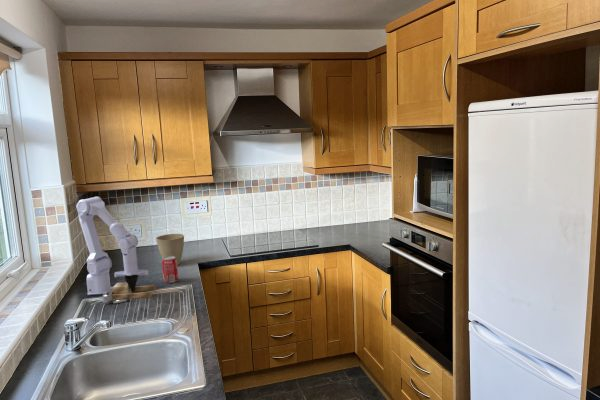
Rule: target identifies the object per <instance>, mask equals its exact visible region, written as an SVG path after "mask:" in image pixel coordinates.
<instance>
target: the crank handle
mask: <svg viewBox="0 0 600 400" xmlns="http://www.w3.org/2000/svg"><path fill="white" fill-rule="evenodd" d="M124 302H125V303H126V302H127V303H128V302H131V298H130V297H129V295H127V296H126V299H115V300H113V305H115V304H120V303H124Z"/></svg>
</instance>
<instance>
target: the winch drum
mask: <svg viewBox="0 0 600 400" xmlns="http://www.w3.org/2000/svg"><path fill="white" fill-rule="evenodd" d="M102 301H103V305H110V304H112V303H113V301H114V300H113V293H110V292H109V291H107V292H106V293H105V294H102Z"/></svg>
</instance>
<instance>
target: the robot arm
mask: <svg viewBox="0 0 600 400" xmlns="http://www.w3.org/2000/svg"><path fill="white" fill-rule="evenodd" d="M105 204H106V203H105V201H103V200H102V198H101V197H100V196H94V197H89V198H85V199H84V198H83V199H80V200H78V202H77V203H76V205H75V207H76V210H77V214H78V216H77V217H78V221H79V224H80V227H81V230H82V233H83V237H84V240H85V243H86V247H87V249H88V253H89V256H88V257H87V258H86V264H87V265H86V270H87V272H88V274H87V275H86V287H87V288H86V289H87V296H91V295H103V294H105V293H106V292H107V291H109V293H110V292H111V290H112V289H113V287H114V286H111V281H110V269H111V268H112V265H113V263H112V260H111V258H110V257H109V255H108V253H107V252H106V251H103V247H102V245H101V242H100V239H99V236H98V231H97V230H96V229H97V228H96V225H95V222H94V218H95V216H98V217H99V218H100V219H101V220H102V221H103V222H104V223H105V224H106V225H107V226H108V227H109V233H111V235H112V236H113V237H114V238H115V239H116V240H117V241H118V247H119V248H120V252H121V253H122V254H121V255H122V261H123V268H124V269H123V270H121V271H120V270H119V271H115V272H114V275H113V276H114V278H119V277H124V280H125V281H124V282H127V283H128V285H129V287H130V290H131V292H132V293H135V292H136V291H135V287H136V286H137V282H138V279H139V276H148V275H149V269H139V267H138V257H137V246H138V244H139V240H138V238H137V236H136V235H135V234H133V233H131V232H129V231H128V230H127V229H126V228H125V226H124V225H123V224H122V223H121V222H117V221H116V220H115V219H114V217H113V216H112V214H110V212H109V210H108V209H107V208H106V206H105Z"/></svg>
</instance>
